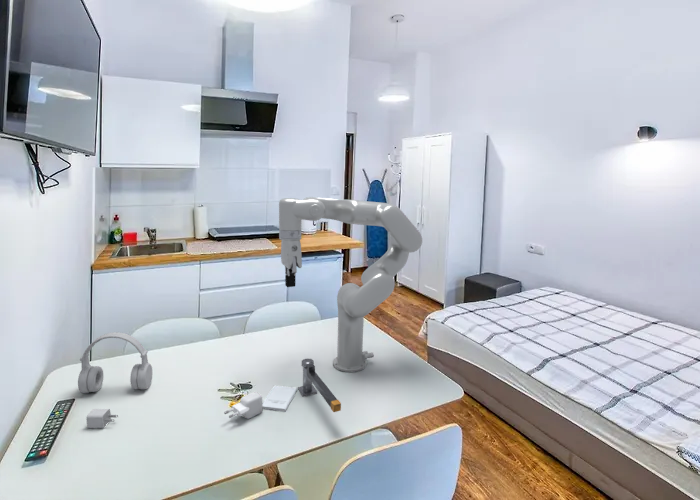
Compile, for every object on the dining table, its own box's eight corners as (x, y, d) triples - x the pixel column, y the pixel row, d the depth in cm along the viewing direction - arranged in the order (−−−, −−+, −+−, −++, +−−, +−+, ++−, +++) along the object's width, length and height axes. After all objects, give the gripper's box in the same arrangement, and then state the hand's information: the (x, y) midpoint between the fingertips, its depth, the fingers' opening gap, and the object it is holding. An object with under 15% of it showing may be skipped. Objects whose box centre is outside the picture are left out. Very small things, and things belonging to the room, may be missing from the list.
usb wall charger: (95, 420, 117) (94, 407, 116) (120, 420, 117) (119, 407, 116) (87, 429, 113) (86, 416, 112) (113, 429, 113) (111, 416, 112)
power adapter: (231, 429, 114) (231, 410, 113) (222, 422, 117) (221, 403, 116) (264, 413, 122) (264, 395, 121) (255, 406, 125) (254, 389, 124)
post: (312, 386, 138) (312, 361, 136) (317, 393, 134) (317, 367, 132) (297, 389, 136) (298, 363, 134) (302, 396, 131) (302, 370, 130)
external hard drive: (297, 392, 135) (285, 413, 123) (273, 389, 137) (259, 410, 125) (297, 387, 135) (285, 408, 123) (273, 385, 136) (259, 405, 124)
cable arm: (299, 370, 134) (299, 359, 134) (311, 368, 136) (311, 357, 135) (330, 413, 111) (330, 400, 111) (343, 409, 113) (344, 397, 112)
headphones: (154, 380, 139) (150, 327, 135) (146, 394, 131) (142, 338, 127) (90, 384, 135) (84, 330, 132) (78, 398, 127) (71, 341, 123)
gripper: (307, 237, 134) (307, 291, 137) (294, 231, 147) (294, 279, 151) (285, 238, 131) (286, 293, 134) (273, 231, 144) (274, 281, 147)
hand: (290, 286), depth 142 cm, fingers closed
